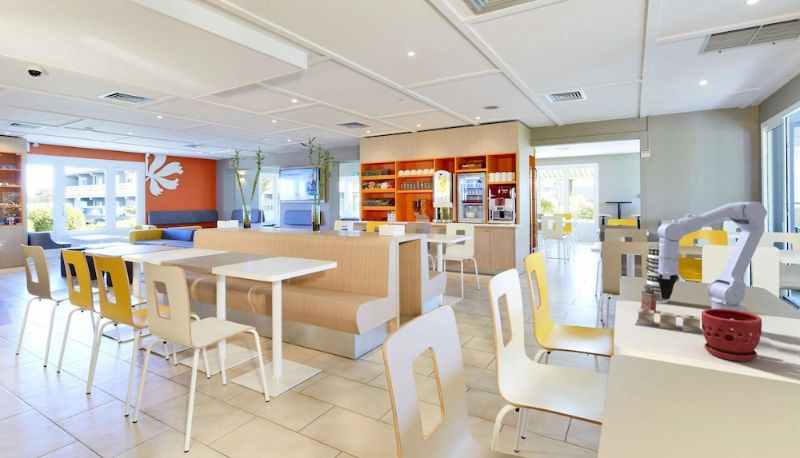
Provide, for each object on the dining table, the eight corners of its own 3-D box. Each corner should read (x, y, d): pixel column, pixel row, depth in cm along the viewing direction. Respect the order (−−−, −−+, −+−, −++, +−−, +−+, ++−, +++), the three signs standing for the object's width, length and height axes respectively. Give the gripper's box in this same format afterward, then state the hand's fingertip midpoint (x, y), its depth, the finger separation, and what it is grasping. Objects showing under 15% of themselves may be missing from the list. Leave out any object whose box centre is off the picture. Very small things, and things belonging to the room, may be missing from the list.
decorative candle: (639, 299, 186) (641, 244, 185) (655, 297, 189) (657, 243, 188) (657, 303, 178) (660, 246, 176) (673, 302, 180) (676, 245, 179)
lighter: (658, 313, 161) (659, 288, 160) (649, 313, 161) (650, 288, 160) (646, 308, 169) (647, 284, 168) (638, 308, 169) (639, 284, 168)
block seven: (653, 323, 146) (654, 310, 146) (652, 326, 142) (653, 313, 142) (639, 321, 148) (639, 308, 148) (637, 324, 145) (638, 311, 144)
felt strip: (701, 329, 140) (701, 328, 140) (702, 336, 133) (702, 335, 132) (637, 320, 151) (637, 319, 151) (634, 326, 143) (634, 325, 143)
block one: (698, 329, 138) (699, 316, 138) (699, 333, 135) (700, 319, 134) (682, 327, 141) (683, 314, 141) (682, 330, 137) (683, 317, 137)
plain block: (675, 326, 142) (676, 313, 142) (675, 329, 138) (676, 316, 138) (660, 324, 145) (660, 311, 144) (659, 327, 141) (660, 314, 141)
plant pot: (701, 344, 125) (703, 305, 124) (758, 354, 116) (761, 313, 116) (698, 356, 115) (700, 314, 114) (760, 368, 106) (763, 323, 106)
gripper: (657, 255, 150) (655, 291, 151) (652, 259, 139) (651, 298, 139) (680, 256, 146) (678, 294, 147) (678, 260, 135) (676, 301, 135)
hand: (666, 296), depth 143 cm, fingers open, 7 cm apart
